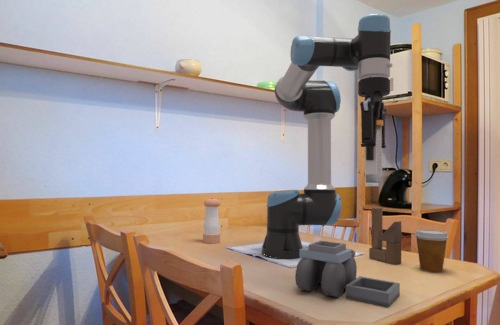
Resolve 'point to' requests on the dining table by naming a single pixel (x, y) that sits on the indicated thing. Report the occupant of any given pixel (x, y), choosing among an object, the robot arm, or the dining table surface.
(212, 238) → the salt shaker
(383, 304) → the tray
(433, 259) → the disposable coffee cup
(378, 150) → the capped glass tube
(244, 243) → the dining table surface
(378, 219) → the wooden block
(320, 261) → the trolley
